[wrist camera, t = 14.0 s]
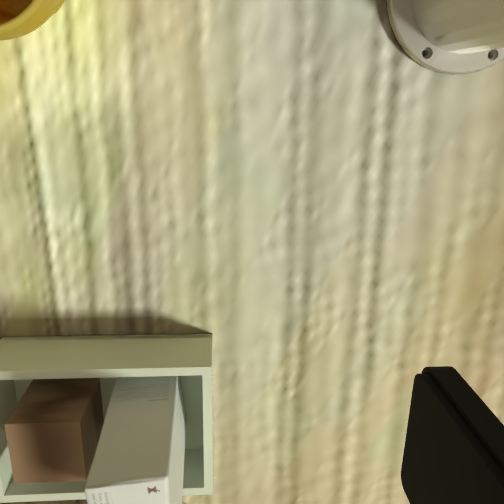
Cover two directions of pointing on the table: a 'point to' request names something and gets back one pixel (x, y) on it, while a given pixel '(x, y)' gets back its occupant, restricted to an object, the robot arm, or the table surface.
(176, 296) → the table surface
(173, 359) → the tray
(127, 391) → the skincare box
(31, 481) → the walnut block
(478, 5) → the robot arm
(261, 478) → the table surface
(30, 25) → the plant pot
